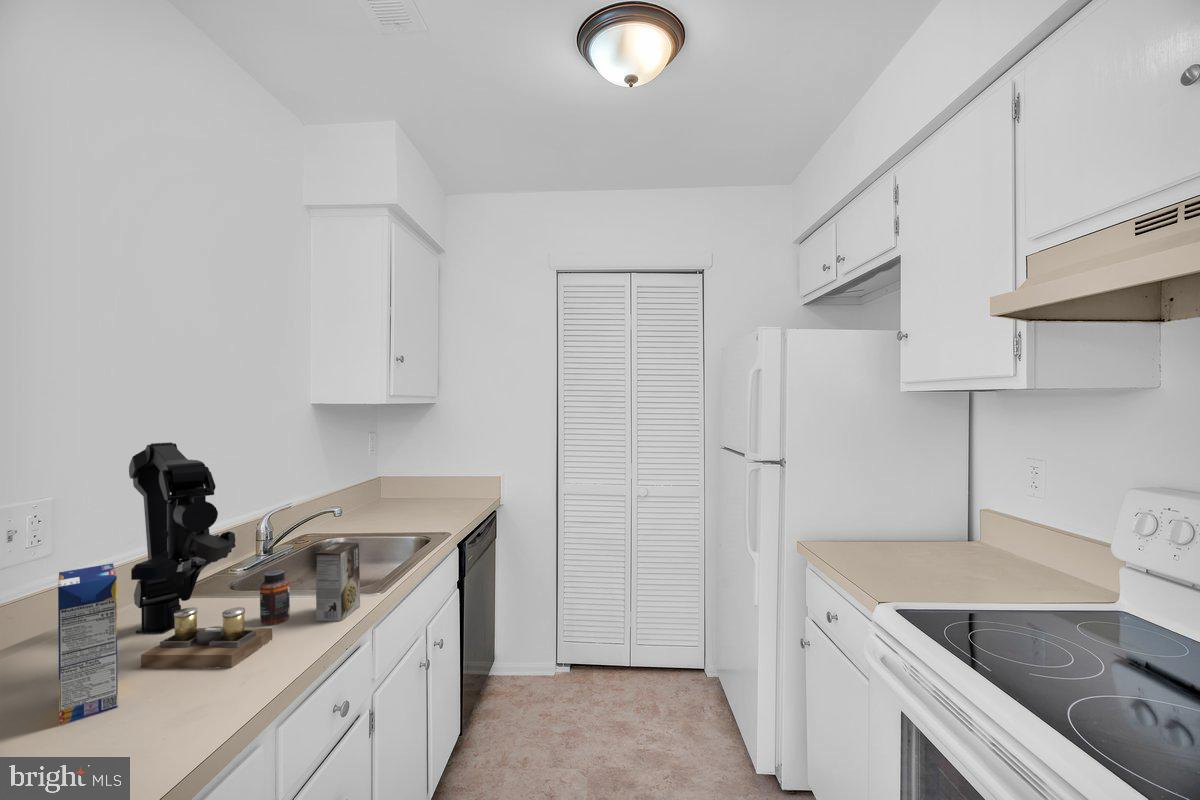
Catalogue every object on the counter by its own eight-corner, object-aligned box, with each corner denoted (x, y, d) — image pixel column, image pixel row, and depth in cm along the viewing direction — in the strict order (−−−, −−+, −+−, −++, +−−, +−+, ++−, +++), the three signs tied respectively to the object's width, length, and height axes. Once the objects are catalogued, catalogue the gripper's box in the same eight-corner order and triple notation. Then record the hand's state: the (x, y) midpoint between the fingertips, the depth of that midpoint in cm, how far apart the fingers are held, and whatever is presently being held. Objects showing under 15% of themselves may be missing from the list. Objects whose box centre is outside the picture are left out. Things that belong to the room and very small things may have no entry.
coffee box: (335, 606, 131) (335, 541, 131) (361, 606, 131) (360, 541, 131) (314, 621, 122) (314, 552, 122) (341, 621, 122) (341, 552, 122)
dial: (190, 644, 105) (190, 633, 105) (207, 634, 109) (207, 624, 109) (213, 644, 105) (213, 633, 105) (229, 634, 109) (229, 624, 109)
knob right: (217, 642, 105) (217, 614, 105) (231, 634, 109) (231, 607, 109) (236, 642, 105) (236, 614, 105) (249, 634, 109) (249, 607, 109)
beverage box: (59, 726, 83) (58, 587, 83) (59, 699, 91) (59, 572, 91) (117, 707, 88) (116, 576, 88) (113, 683, 95) (112, 563, 96)
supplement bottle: (295, 615, 126) (295, 568, 126) (278, 626, 120) (277, 576, 120) (272, 615, 126) (272, 568, 126) (253, 625, 120) (253, 576, 120)
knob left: (169, 642, 105) (168, 614, 105) (184, 634, 109) (184, 607, 109) (187, 642, 105) (187, 614, 105) (202, 634, 109) (202, 607, 109)
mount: (140, 667, 101) (140, 649, 101) (190, 639, 113) (190, 623, 113) (231, 667, 101) (231, 649, 101) (272, 639, 113) (272, 623, 113)
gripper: (186, 535, 98) (186, 619, 98) (254, 514, 116) (255, 584, 116) (128, 535, 98) (128, 619, 98) (206, 514, 117) (206, 584, 117)
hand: (185, 600), depth 107 cm, fingers closed
